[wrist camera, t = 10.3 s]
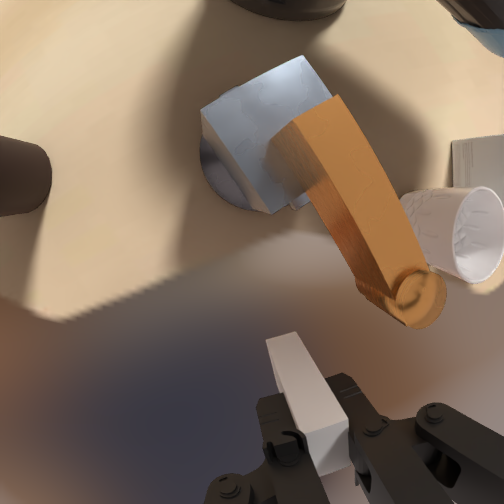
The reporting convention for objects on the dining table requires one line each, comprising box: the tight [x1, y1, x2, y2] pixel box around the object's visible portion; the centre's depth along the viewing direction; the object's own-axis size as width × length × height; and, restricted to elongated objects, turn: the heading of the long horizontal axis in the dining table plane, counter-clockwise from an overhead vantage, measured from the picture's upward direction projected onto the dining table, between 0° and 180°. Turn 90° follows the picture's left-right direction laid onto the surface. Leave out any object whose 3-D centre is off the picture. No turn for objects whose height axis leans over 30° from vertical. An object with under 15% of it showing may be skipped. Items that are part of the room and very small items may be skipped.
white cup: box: [399, 186, 504, 284], centre depth 24 cm, size 8×8×10 cm
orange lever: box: [200, 55, 447, 329], centre depth 17 cm, size 7×17×13 cm, turn 34°
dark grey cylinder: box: [200, 134, 289, 211], centre depth 21 cm, size 10×10×9 cm
